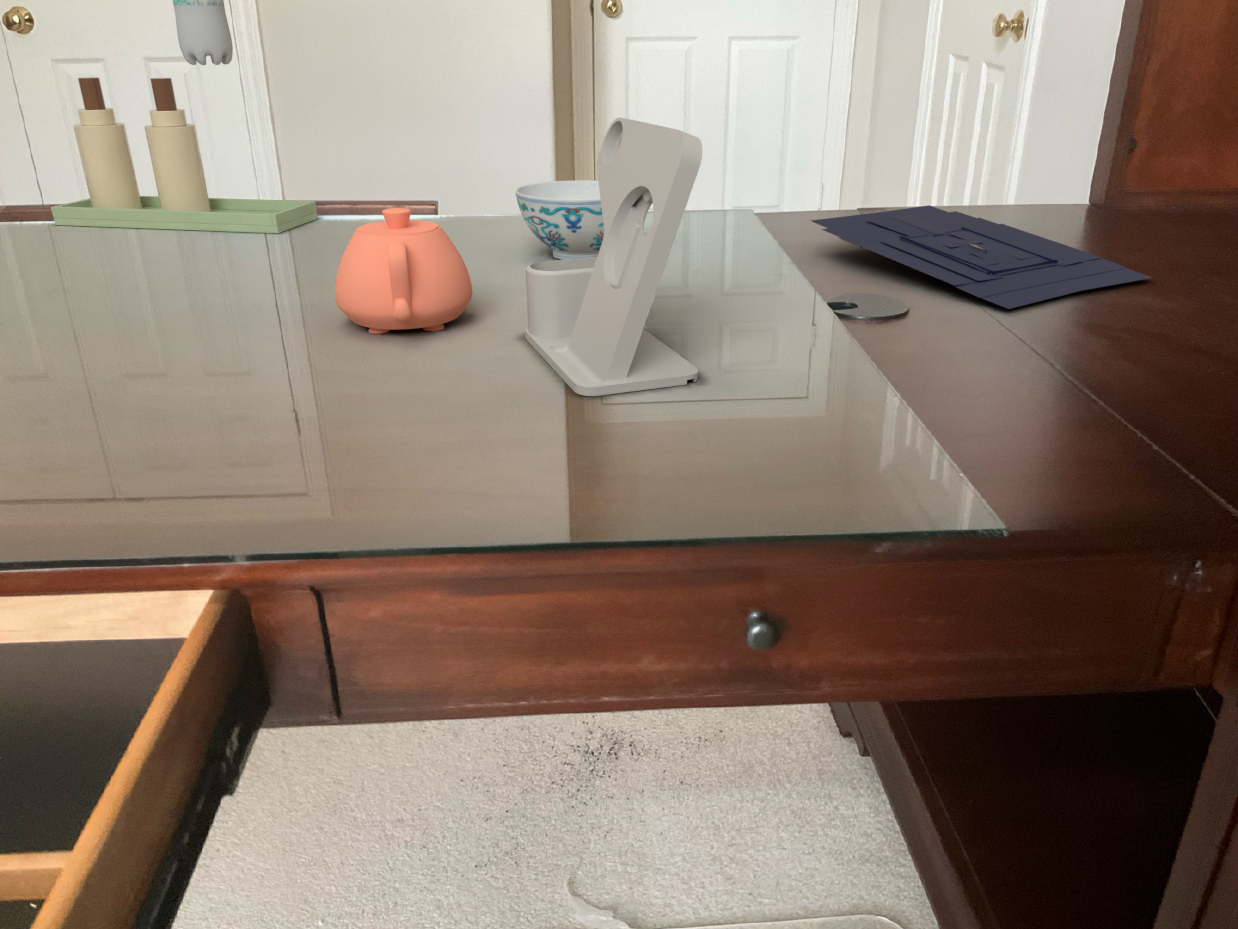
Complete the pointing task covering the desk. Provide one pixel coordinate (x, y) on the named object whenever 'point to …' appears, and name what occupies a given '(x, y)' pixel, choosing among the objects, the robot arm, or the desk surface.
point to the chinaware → (564, 216)
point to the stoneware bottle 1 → (105, 152)
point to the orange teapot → (401, 275)
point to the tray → (193, 215)
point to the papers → (979, 254)
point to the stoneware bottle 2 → (175, 153)
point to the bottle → (203, 31)
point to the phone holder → (618, 269)
